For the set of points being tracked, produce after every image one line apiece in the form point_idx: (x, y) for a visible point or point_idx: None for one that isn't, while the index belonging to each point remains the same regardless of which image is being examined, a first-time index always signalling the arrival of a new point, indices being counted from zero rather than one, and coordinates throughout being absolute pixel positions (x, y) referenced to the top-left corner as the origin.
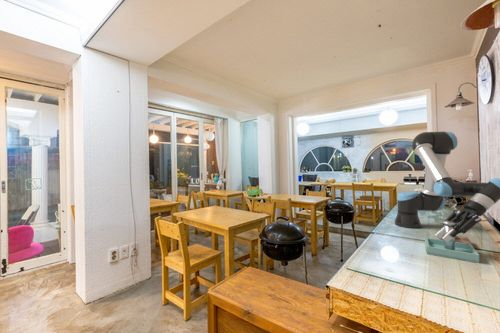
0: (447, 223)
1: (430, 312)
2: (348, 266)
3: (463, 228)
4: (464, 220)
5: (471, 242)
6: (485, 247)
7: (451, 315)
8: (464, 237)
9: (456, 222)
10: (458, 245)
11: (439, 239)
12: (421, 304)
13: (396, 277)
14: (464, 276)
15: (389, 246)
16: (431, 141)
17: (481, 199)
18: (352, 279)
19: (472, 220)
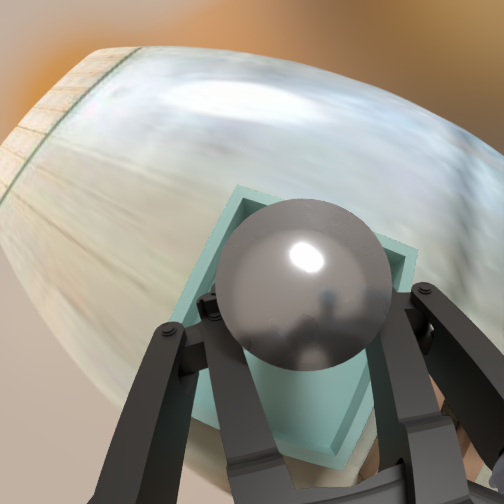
0: (243, 225)
1: (15, 135)
2: (146, 48)
3: (150, 355)
4: (226, 451)
5: None
6: None
7: (4, 155)
8: (466, 477)
9: (287, 361)
10: (353, 408)
11: None
12: (26, 128)
13: (89, 102)
14: (62, 240)
15: (311, 112)
16: None
17: None
18: (101, 60)
19: (103, 478)
